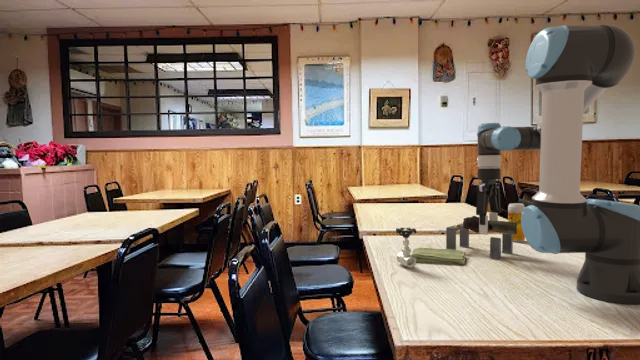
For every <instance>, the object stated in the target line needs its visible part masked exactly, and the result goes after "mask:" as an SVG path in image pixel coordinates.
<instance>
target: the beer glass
mask: <svg viewBox="0 0 640 360" xmlns="http://www.w3.org/2000/svg"><path fill="white" fill-rule="evenodd" d="M525 207H526V206H525V204H524V203H518V202H515V203H514V202H513V203H512V202H511V203H509V204H508V206H507V222H517V232H516V235H515V234H513V242H514V243H523V242H524V241H525V240H526V238H525V236H524V233H523V230H522V224H521V215H522V212H523V210H524V208H525Z"/></svg>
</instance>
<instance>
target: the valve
mask: <svg viewBox="0 0 640 360" xmlns="http://www.w3.org/2000/svg"><path fill="white" fill-rule="evenodd" d="M395 232H396V234H398V235H400V236H401V237H402V238H404V240H402V245H403V247H402V248H401V249H400V252H399V253H398V254H397V255H396V261H397V262H398V263H400V265H401V266H403V267H405V268H409V269H414V267H416V266H417V262H416V259H415V258H413V257H412V256H411V253H412V248H410V246H409V245H410V240H409V239H408V238H410V236H411V235H412V234H417V229H416V228H411V227H400V228H398V227H396V228H395Z"/></svg>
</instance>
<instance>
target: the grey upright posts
mask: <svg viewBox="0 0 640 360" xmlns="http://www.w3.org/2000/svg"><path fill="white" fill-rule="evenodd" d="M445 230H446V231H445V234H446V235H445V239H446V240H445V241H446V242H445V245H446V246H445V247H446V248H445V249H454V250H457V232H459V247H462V248H469V247H470V230H469V229H466V228H464V226H463V222H462V223H456V224H454V225H451V226H447V227H446V229H445ZM501 234H502V235H501V237H502V238H501V237H494V236H491V237H490V239H489V243H490V244H489V257H490V258H489V259H491V260H492V259H493V260H498V261H499V260H501V259H502V253H503V254H509V255H512V254H513V253H514V252H513V248H514V247H513V244H514V243H513V234H507V233H501Z"/></svg>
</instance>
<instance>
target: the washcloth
mask: <svg viewBox="0 0 640 360" xmlns="http://www.w3.org/2000/svg"><path fill="white" fill-rule="evenodd" d="M410 255H411V256H412V257H413V258H415V259H416V263H421V264H438V265H439V264H441V265H444V264H445V265H459V266H463V265H465V260H466V256H465V255H466V252H465V251H463V250H460V249H456V250H454V249H446V248H432V247H417V248H416V247H415V248H413V250H412V253H410Z"/></svg>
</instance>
